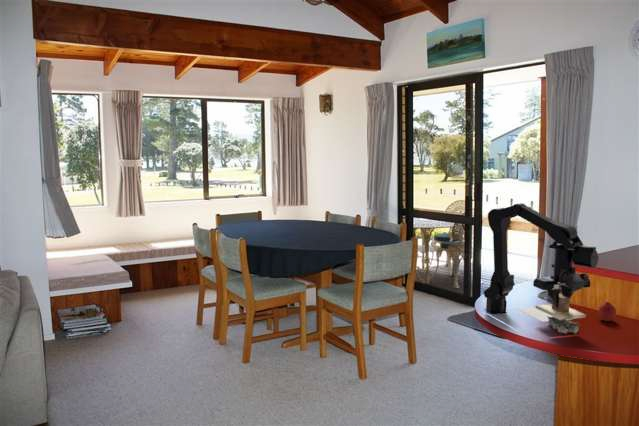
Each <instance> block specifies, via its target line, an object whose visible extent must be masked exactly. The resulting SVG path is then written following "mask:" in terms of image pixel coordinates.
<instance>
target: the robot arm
mask: <svg viewBox="0 0 639 426" xmlns="http://www.w3.org/2000/svg"><path fill="white" fill-rule="evenodd" d="M516 217H519V218H521V219H523V220H525V221H527V222H528V223H530V224H532V225H534V226H535V227H538V228H540V229H541V230H543V231H545V232H546V233H547V235H548V237H550V238H551V239H552V240H553V242H552V244H550V245H549V246H548V248H549V249H554V258H553V259H554V260H553V263H551V268H553V275H550V279H549V278H546V277H536V278H534V279H533V281H532V282H533V284H532V285H533V287H535V288H537V289H539V290H542V291H546V290H547V291H548V293H549V294H550V297H551V299H552V300H551V303H552V302H553V304H554V306H555V307H556V308H558V302H559V293H560V292H561V291H562V295H565V296H567V297H570V299H571V297H572V296H573V294H574V293H575V292H577V291H579V290H582V289H583V288H590V287H591V280H590V279H589V274H588V273H587V272H586V273H585V272H584V273H583V272H582V273H577V272H576V267H575V266H580V267H587V268H592V269H595V268H596V267H597V265H598V263H599V258H600V257H599V254H598V251H597V247H596V246H588V245H584V243H583V242H582V240H581V238H580V237H579V235H578V232H577V229H576V227H574V226H573V225H570V224H567V223H565V222H560V221H556V220H553V219H551V218H549V217H548V216H546V215H544V214H542V213H541V212H538V211H536V210H535V209H533V208H531V207H530V206H527V205H526V204H525V203H523V202H522V203H521V202H520V203H515V204H513V205H511V206H508V207H499V208H492V209H490V211H489V212H488V213H487V220H488V221H487V222H488V225H489V228H490V229H491V232H492V235H493V236H492V239H493V242H492V243H493V244H492V245H493V268H494V269H493V273H492V275H491V277H490V282H489V283H490V284H489V287H488V288H486V289H484V291H483V295H484V298H486V302H485V303H486V306H485V308H484V309H483V310H484V311H486V312H488V313H489V314H492V315H500V314H502V315H503V314H508V312H507V305H508V304H507V302H508V301H507V300H506V299H507V297H508V296H509V294H510V292H511V291H513V289H514V286H516V285H515V275H514V274H511V273H510V272H509V268H508V267H509V266H508V265H509V264H508V261H509V260H508V230H509V228H510V225H511V219H512V218H516ZM573 264H574V265H575V266H573ZM558 282H559V283H558ZM560 285H561V286H562V290H560V289H559V286H560Z"/></svg>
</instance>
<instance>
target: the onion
mask: <svg viewBox="0 0 639 426" xmlns="http://www.w3.org/2000/svg"><path fill="white" fill-rule="evenodd" d="M597 314H598V316H599V317H600V319H601V320H603V321H604V322H611V321H612V320H614V319H615V318H616V316H617V310H616V308H615V306H614V305H613V304H612V303H611V302H610V301H609V300H607V299H606V300H605V302H604V303H602V304H601V305H599V307H598V309H597Z"/></svg>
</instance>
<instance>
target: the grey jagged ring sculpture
mask: <svg viewBox="0 0 639 426" xmlns="http://www.w3.org/2000/svg"><path fill="white" fill-rule="evenodd" d="M547 318H548V319H549V320H548V321H547V325H548V326H551V327H552V329H554V330H557V332H558V333H562V334H568V333H573V334H572V335H573V336H577V335H578V332H579V326H581V324H580V323H579V322H578V321H577V322H574V321H570V320H566V319H564V320H559V319H557V318H555V317H548V316H547ZM565 326H566V327H567V328H566V327H565Z"/></svg>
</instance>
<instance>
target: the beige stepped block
mask: <svg viewBox="0 0 639 426" xmlns="http://www.w3.org/2000/svg"><path fill="white" fill-rule="evenodd" d="M570 302H571V298H570V297H567V296H565V295H562V294H559V302H558V308H556V307H555V306H554V304H553V302H552V301H551V303H548V304H537V305H535V307H536V309H538V310H541V311H543V312H545V313H547V314H549V315H551V316H553V317H555V318H557V319H559V320H564V319H570V320H575V319H583V318H586V317H587V314H585V313H583V312H581V311H579V310H576V309H574V308H571V307H570Z"/></svg>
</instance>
